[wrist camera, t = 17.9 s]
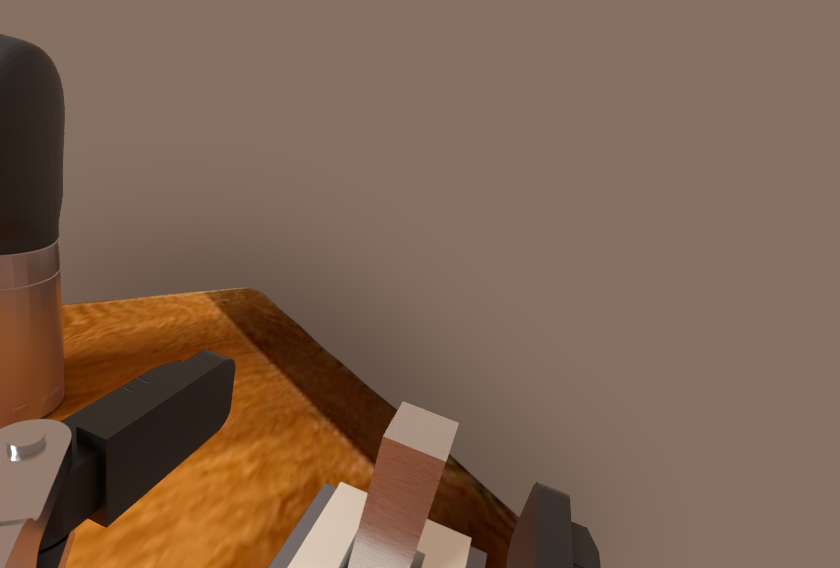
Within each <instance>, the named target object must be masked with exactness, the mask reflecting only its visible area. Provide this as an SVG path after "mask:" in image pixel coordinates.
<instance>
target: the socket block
mask: <svg viewBox="0 0 840 568" xmlns="http://www.w3.org/2000/svg"><path fill="white" fill-rule="evenodd" d="M367 494H368V493H366V492H364V491H361V490H359V489H357V488H354V487H352V486H350V485H347V484H345V483H343V482H340V484H339V486H338V487H337V488H336V487H333V486H331V485H329V484H326V483H325V484H324V485H323V487H322V488H321V490H320V491H319V493H318V494H317V496H316V497H315V499H314V500H313V502H312V503H311V505H310V506H309V508H308V509H307V511H306V512H305V514H304V515H303V517H302V518H301V520H300V521H299V523H298V524H297V526H296V527H295V529H294V530H293V532H292V533H291V535H290V536H289V538H288V539H287V541H286V542H285V544H284V545H283V547H282V548H281V550H280V551H279V553H278V554H277V556H276V557H275V559H274V560H273V562H272V563H271V565H270V566H269V568H348V564H349V561H350V557H351V553H352V549H353V546H354V542H355V538H356V535H357V531H358V527H359V524H360V520H361V516H362V512H363V509H364V505H365V501H366V498H367ZM470 543H471V538H470V537H468V536H466V535H463V534H461V533H459V532H456V531H454V530H452V529H449V528H447V527H445V526H442V525H440V524H438V523H435V522H433V521H431V520H428V519H427V520H426V522H425V525H424V528H423V531H422V534H421V537H420V540H419V543H418V546H417V549H416V552H415V555H414V558H413V561H412V564H411V567H410V568H485V564H486V558H487V553H485V552H483V551H481V550H478V549H476V548H474V547H471V546H470Z"/></svg>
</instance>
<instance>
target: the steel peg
mask: <svg viewBox="0 0 840 568" xmlns="http://www.w3.org/2000/svg"><path fill="white" fill-rule="evenodd" d="M458 424H459V423H458V422H455V421H453V420H450V419H447V418H445V417H442V416H440V415H437V414H435V413H432V412H429V411H426V410H424V409H422V408H419V407H416V406H414V405H411V404H409V403H406V402H402V404H401V406H400V408H399V409H398V411H397V413H396V415H395V416H394V418H393V420H392V422H391V423H390V425H389V427H388V428H387V430H386V432H385V434H384V435H383V438H382V442H381V446H380V449H379V453H378V457H377V460H376V464H375V468H374V472H373V475H372V479H371V483H370V486H369V490H368V494H367V498H366V501H365V505H364V509H363V512H362V516H361V520H360V524H359V527H358V531H357V535H356V538H355V542H354V546H353V549H352V553H351V557H350V561H349V564H348V568H410V567H411V564H412V561H413V558H414V555H415V552H416V549H417V546H418V543H419V540H420V537H421V534H422V531H423V528H424V525H425V522H426V520H427V517H428V514H429V511H430V508H431V505H432V502H433V499H434V496H435V493H436V490H437V487H438V484H439V481H440V478H441V475H442V472H443V469H444V467H445V464H446V461H447V458H448V455H449V452H450V449H451V445H452V442H453V439H454V436H455V433H456V430H457V427H458Z"/></svg>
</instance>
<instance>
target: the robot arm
mask: <svg viewBox="0 0 840 568" xmlns="http://www.w3.org/2000/svg"><path fill="white" fill-rule="evenodd" d="M64 111H65V106H64V96H63V88H62V84H61V80H60V76H59V74H58V72H57V69H56V67H55V65H54V63H53V62H52V60H51V58H50V57H49V56H48V55H47V54H46V53H45V52H44V51H43V50H42V49H40V48H39V47H37V46H36V45H34V44H32V43H29V42H27V41H24V40H20V39H17V38H14V37H10V36H6V35H2V34H0V568H65V566H66V563H67V559H68V556H69V553H70V550H71V547H72V544H73V541H74V536H75V528H76V527H77V526H79V525H80V524H81V523H82V522H84V521H85V520H86V519H87V518H88V519H90V520H92V521H94V522H96V523H98V524H100V525H102V526H104V527H106V528H107V527H108V526H109V525H110V524H111V523H112V522H114V521H115V520H116V519H117V518H118V517H119V516H121V515H122V514H123V513H124V512H125V511H126V510H127V509H129V508H130V507H131V506H132V505H133V504H134V503H136V502H137V501H138V500H139V499H140V498H141V497H143V496H144V495H145V494H146V493H147V492H148V491H149V490H151V489H152V488H153V487H154V486H155V485H156V484H158V483H159V482H160V481H161V480H162V479H163V478H164V477H166V476H167V475H168V474H169V473H170V472H171V471H173V470H174V469H175V468H176V467H177V466H178V465H180V464H181V463H182V462H183V461H184V460H185V459H186V458H188V457H189V456H190V455H191V454H192V453H193V452H195V451H196V450H197V449H198V448H199V447H200V446H202V445H203V444H204V443H205V442H206V441H207V440H208V439H210V438H211V437H212V436H213V435H214V434H215V433H217V432H218V431H219V430H220V428H221V427H222V426H223V424H224V423H225V421H226V419H227V417H228V415H229V412H230V408H231V401H232V392H233V384H234V375H235V362H234V360H232V359H230V358H227V357H225V356H222V355H220V354H217V353H215V352H212V351H210V350H203V351H201V352H199V353H198V354H196V355H194V356H192V357H191V358H189V359H187V360H186V361H184V362H182V361H180V360H179V361H175V362H171V363H168V364H164V365H161V366H157V367H155V368H153V369H152V370H150V371H148V372H146V373H145V374H143V375H141V376H139V377H138V379H137V380H136V379H134V380H132V381H130V382H129V383H127V384H125V385H123V387H122V388H121V389H120V388H118V389H116V390H115V391H113V392H111V393H109V394H108V395H106V396H104V397H102V398H100V399H99V400H97V401H95V402H93V403H92V404H90V405H88V406H86V407H85V408H83V409H81V410H79V411H78V412H76V413H74V414H72V415H70V416H69V417H67V418H65V419H63V420H62V421H60V422H59V421H55V420H49V419H40V418H42V417H44V416H46V415H47V414H49V413H50V412H52V411H53V410H54V409H55V408H56V407H58V406H59V404H60V403H61V402H62V400H63V398H64V395H65V384H64V350H63V324H62V300H61V273H60V251H59V229H58V228H59V226H58V225H59V216H60V210H61V204H62V196H63V146H64V121H65V113H64ZM506 568H600V559H599V551H598V549H597V547H596V545H595V543H594V541H593V539H592V537H591V535H590V533H589V531H588V529H587V528H586V527H583V526H581V525H578V524H576V523H574V522H571V512H570V498H569V495H568V494H565V493H563V492H560V491H558V490H555V489H553V488H550V487H548V486H545V485H543V484H540V483H538V482H536V483H535V485H534V486H533V489H532V490H531V493H530V495H529V497H528V500H527V502H526V504H525V507H524V509H523V511H522V513H521V516H520V518H519V520H518V522H517V525H516V527H515V529H514V532H513V535H512V538H511V542H510V546H509V550H508V555H507V563H506Z"/></svg>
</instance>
